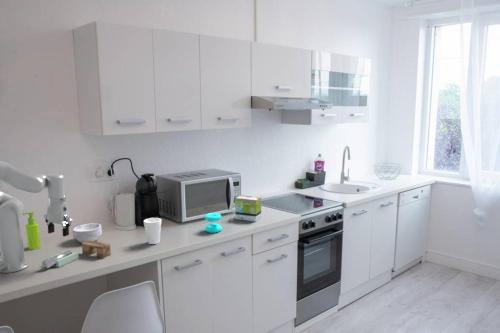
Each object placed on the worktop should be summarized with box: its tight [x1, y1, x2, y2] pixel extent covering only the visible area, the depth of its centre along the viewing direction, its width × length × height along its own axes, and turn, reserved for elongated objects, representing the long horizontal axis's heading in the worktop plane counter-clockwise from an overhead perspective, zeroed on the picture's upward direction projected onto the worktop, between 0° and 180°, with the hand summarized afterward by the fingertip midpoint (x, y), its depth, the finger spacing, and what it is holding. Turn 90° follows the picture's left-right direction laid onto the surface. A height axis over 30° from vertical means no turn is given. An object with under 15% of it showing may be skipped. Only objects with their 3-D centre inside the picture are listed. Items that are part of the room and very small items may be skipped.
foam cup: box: [143, 217, 163, 245], centre depth 218 cm, size 10×9×13 cm
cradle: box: [46, 250, 80, 268], centre depth 195 cm, size 12×9×3 cm
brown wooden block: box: [81, 240, 112, 259], centre depth 203 cm, size 5×14×6 cm, turn 67°
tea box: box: [234, 194, 262, 223], centre depth 261 cm, size 15×10×15 cm, turn 67°
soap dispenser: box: [21, 211, 41, 251], centre depth 213 cm, size 6×7×20 cm
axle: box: [41, 249, 73, 270], centre depth 192 cm, size 14×4×4 cm, turn 157°
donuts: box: [204, 212, 223, 234], centre depth 238 cm, size 10×10×10 cm
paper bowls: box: [72, 223, 103, 244], centre depth 225 cm, size 15×15×8 cm
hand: (58, 234), depth 193 cm, fingers open, 9 cm apart
